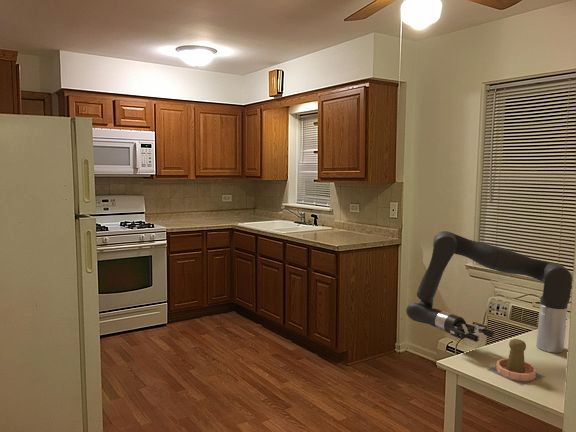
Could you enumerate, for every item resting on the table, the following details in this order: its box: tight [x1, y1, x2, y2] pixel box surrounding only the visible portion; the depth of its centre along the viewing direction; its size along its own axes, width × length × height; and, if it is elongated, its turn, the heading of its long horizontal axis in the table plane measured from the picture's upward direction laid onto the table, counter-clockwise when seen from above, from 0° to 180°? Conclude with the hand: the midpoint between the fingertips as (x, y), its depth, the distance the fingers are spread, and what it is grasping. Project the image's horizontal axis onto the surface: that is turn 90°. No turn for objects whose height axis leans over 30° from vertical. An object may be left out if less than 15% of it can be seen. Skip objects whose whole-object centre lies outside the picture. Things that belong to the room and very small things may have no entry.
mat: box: [486, 366, 546, 386], centre depth 164 cm, size 13×13×1 cm
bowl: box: [495, 358, 537, 382], centre depth 164 cm, size 12×12×2 cm
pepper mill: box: [506, 338, 527, 373], centre depth 163 cm, size 6×6×11 cm
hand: (485, 336), depth 174 cm, fingers open, 8 cm apart
